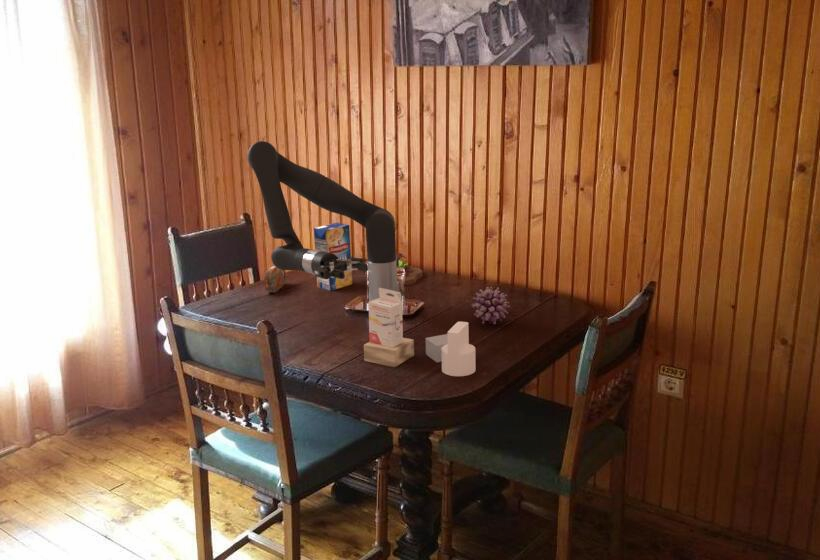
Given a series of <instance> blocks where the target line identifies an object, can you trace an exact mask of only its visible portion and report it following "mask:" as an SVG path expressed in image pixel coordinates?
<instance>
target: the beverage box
mask: <svg viewBox="0 0 820 560" xmlns="http://www.w3.org/2000/svg"><path fill="white" fill-rule="evenodd" d="M350 233H351V231H350V225H349V224H345V223H341V222H340V223H339V222H333V223H330V224H326V225H322V226H317V227H313V239H314V241H313V242H314V250H320V251H325V252H329V253H333V254H335V255H336V256H337V257H338V258H339V259H343V260H348V257H352V251H351V234H350ZM347 269H349V265H347ZM344 276H345V278H344V279H339V278H329V279H323V278H320V277H316V283H317V284H316V285H317V286H316V287H317V288H318V289H321V290H325V291H329V292H331V291H335V290H337V289H341V288H344V287H348V286H350V285H353V271H352V272H344Z"/></svg>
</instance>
